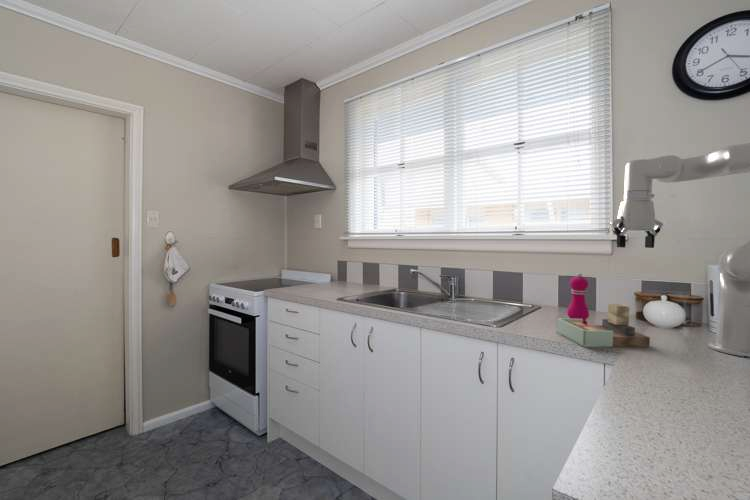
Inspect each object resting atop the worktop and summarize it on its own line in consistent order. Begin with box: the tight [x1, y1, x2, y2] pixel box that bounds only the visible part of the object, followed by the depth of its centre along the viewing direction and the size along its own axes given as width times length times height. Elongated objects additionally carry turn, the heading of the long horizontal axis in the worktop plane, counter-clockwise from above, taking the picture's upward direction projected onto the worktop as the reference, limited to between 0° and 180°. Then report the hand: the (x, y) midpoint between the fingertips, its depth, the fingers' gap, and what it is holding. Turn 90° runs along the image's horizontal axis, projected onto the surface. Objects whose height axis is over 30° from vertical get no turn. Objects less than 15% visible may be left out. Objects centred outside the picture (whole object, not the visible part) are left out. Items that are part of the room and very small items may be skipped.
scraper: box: [601, 303, 636, 336], centre depth 114 cm, size 4×11×8 cm, turn 0°
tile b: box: [572, 322, 586, 329], centre depth 117 cm, size 4×4×2 cm
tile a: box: [583, 327, 598, 331], centre depth 111 cm, size 4×4×2 cm
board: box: [586, 324, 651, 348], centre depth 114 cm, size 12×14×3 cm
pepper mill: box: [566, 272, 590, 325], centre depth 132 cm, size 7×7×20 cm
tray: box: [556, 317, 613, 348], centre depth 114 cm, size 9×16×5 cm, turn 0°
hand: (635, 247), depth 118 cm, fingers open, 9 cm apart
